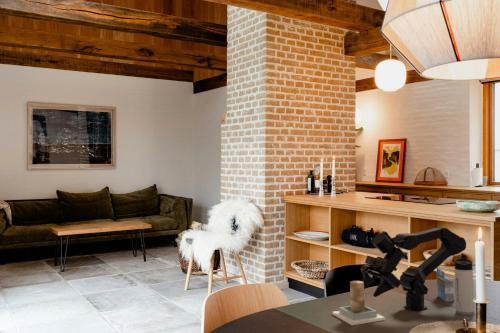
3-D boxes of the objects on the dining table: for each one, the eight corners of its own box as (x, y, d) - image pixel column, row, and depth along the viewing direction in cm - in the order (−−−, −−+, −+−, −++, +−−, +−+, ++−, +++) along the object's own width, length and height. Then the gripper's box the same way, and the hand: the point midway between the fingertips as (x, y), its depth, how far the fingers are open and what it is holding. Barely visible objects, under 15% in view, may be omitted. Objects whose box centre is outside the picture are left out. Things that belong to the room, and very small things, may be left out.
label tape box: (454, 301, 194) (453, 271, 194) (444, 302, 195) (443, 271, 195) (446, 295, 203) (445, 267, 203) (436, 296, 203) (435, 267, 203)
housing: (363, 309, 187) (363, 302, 187) (385, 320, 174) (384, 311, 174) (332, 314, 183) (332, 306, 183) (351, 325, 170) (351, 316, 170)
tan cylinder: (364, 312, 180) (363, 280, 181) (365, 316, 176) (364, 284, 176) (351, 312, 181) (349, 280, 181) (351, 316, 177) (350, 284, 177)
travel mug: (473, 310, 182) (471, 258, 182) (475, 316, 176) (473, 261, 176) (455, 309, 184) (453, 257, 184) (456, 314, 178) (455, 261, 178)
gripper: (363, 244, 191) (340, 275, 187) (392, 251, 173) (367, 285, 169) (381, 262, 193) (358, 292, 189) (411, 270, 176) (386, 304, 172)
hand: (366, 293), depth 180 cm, fingers open, 9 cm apart
